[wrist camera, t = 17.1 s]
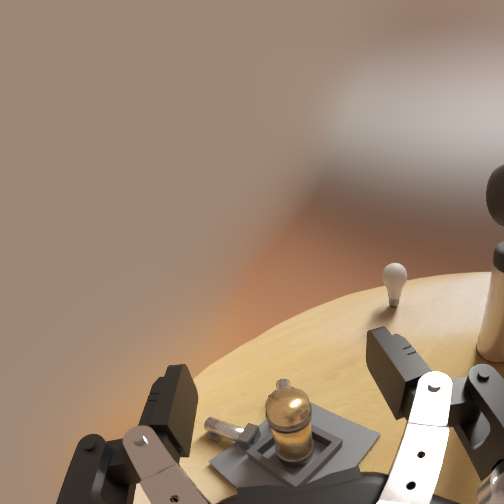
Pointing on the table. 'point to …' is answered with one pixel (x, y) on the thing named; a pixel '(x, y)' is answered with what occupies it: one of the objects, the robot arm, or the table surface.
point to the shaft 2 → (283, 384)
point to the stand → (322, 463)
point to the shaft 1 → (232, 432)
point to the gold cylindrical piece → (291, 426)
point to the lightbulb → (394, 281)
